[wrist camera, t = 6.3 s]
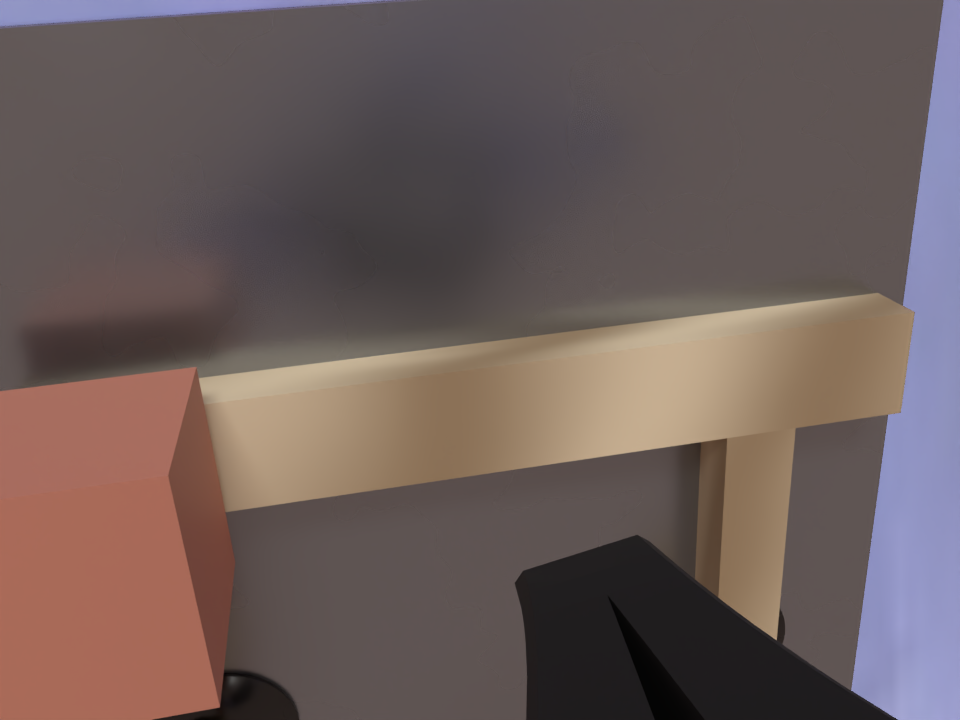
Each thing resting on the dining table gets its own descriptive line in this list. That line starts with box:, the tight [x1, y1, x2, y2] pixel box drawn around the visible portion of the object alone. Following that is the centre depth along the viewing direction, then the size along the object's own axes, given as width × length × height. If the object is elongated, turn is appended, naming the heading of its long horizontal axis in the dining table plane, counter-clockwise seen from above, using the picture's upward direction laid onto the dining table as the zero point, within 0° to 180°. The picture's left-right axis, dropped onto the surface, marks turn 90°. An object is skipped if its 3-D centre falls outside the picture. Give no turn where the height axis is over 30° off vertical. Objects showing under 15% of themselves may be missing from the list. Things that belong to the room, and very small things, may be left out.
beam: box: [199, 293, 915, 640], centre depth 14 cm, size 14×7×3 cm, turn 94°
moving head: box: [0, 367, 235, 720], centre depth 13 cm, size 3×9×4 cm, turn 4°
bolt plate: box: [0, 0, 943, 720], centre depth 16 cm, size 15×14×1 cm
